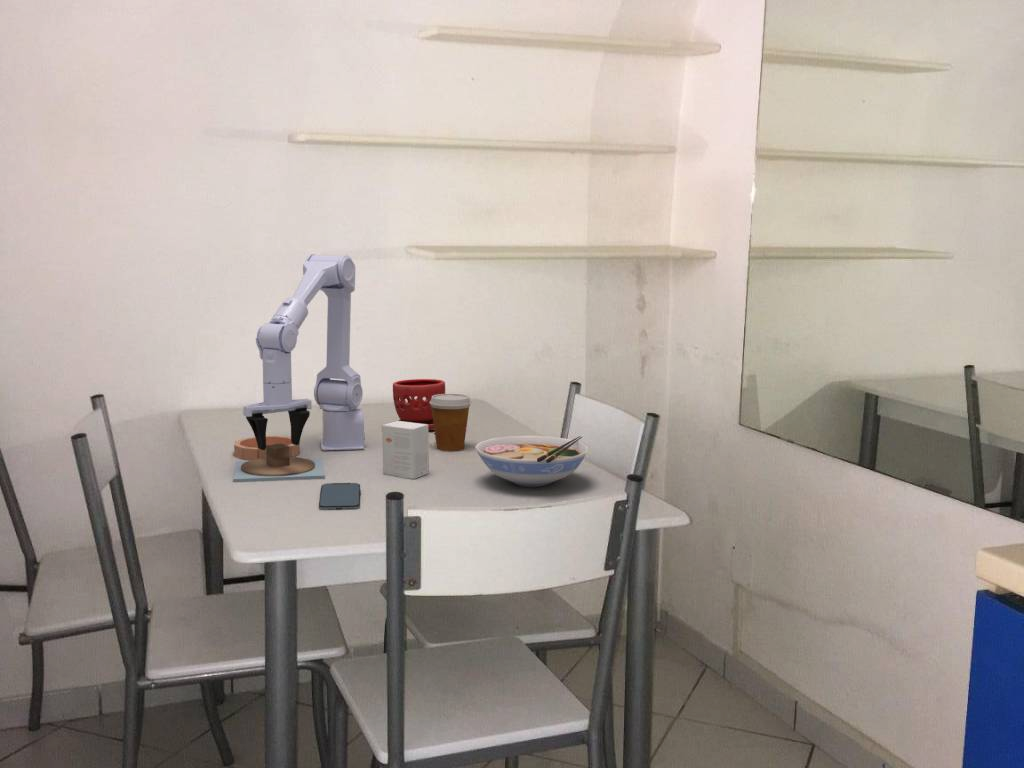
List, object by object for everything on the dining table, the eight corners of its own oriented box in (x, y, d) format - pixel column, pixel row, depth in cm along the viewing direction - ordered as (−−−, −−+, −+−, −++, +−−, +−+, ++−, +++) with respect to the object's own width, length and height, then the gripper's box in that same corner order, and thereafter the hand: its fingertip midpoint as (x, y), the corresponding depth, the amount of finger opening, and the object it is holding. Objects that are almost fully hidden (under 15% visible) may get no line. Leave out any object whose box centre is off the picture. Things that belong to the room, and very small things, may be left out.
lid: (293, 456, 231) (293, 435, 231) (328, 469, 220) (327, 447, 219) (228, 465, 222) (228, 444, 221) (261, 480, 210) (260, 457, 210)
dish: (298, 445, 245) (298, 434, 244) (300, 459, 231) (299, 448, 231) (235, 447, 242) (235, 436, 241) (233, 461, 228) (233, 450, 228)
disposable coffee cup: (428, 452, 239) (428, 400, 238) (430, 443, 249) (430, 393, 247) (470, 452, 240) (471, 400, 238) (471, 444, 249) (471, 393, 247)
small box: (429, 474, 220) (429, 424, 218) (413, 479, 215) (413, 428, 213) (398, 469, 224) (398, 420, 222) (382, 474, 219) (381, 424, 217)
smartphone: (317, 506, 192) (321, 482, 206) (318, 515, 192) (321, 491, 207) (360, 505, 193) (360, 482, 207) (360, 514, 193) (360, 490, 208)
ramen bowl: (501, 464, 230) (502, 426, 228) (603, 474, 221) (604, 436, 220) (453, 491, 207) (454, 450, 205) (565, 504, 198) (566, 461, 197)
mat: (321, 460, 230) (321, 457, 230) (325, 478, 215) (324, 475, 215) (235, 463, 226) (235, 460, 226) (233, 482, 211) (232, 479, 211)
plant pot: (447, 423, 273) (447, 377, 271) (442, 434, 260) (443, 385, 258) (396, 422, 273) (396, 376, 271) (389, 433, 260) (389, 384, 258)
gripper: (299, 376, 225) (300, 438, 227) (235, 382, 216) (237, 447, 218) (316, 380, 220) (317, 444, 222) (251, 387, 211) (253, 454, 213)
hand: (278, 446), depth 220 cm, fingers open, 7 cm apart
